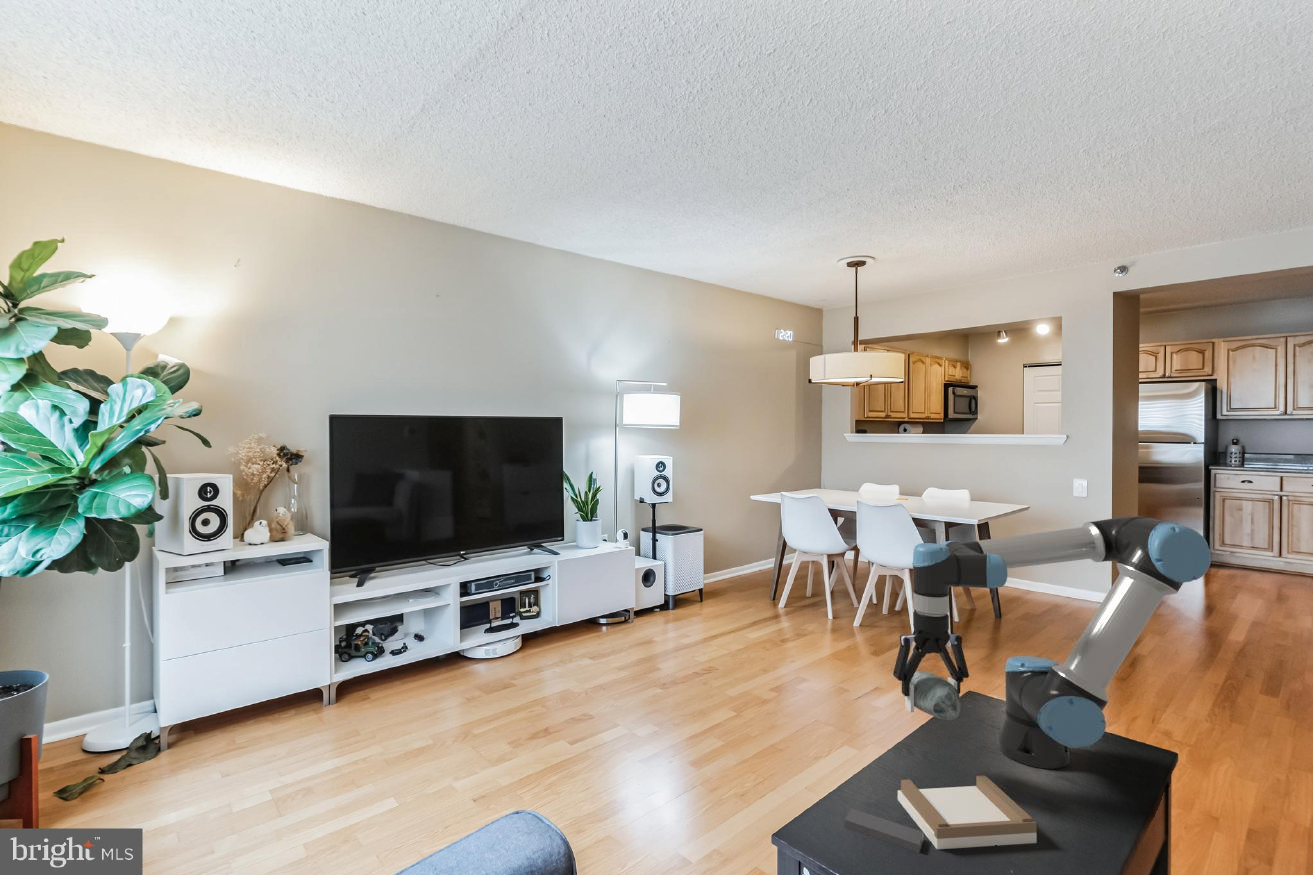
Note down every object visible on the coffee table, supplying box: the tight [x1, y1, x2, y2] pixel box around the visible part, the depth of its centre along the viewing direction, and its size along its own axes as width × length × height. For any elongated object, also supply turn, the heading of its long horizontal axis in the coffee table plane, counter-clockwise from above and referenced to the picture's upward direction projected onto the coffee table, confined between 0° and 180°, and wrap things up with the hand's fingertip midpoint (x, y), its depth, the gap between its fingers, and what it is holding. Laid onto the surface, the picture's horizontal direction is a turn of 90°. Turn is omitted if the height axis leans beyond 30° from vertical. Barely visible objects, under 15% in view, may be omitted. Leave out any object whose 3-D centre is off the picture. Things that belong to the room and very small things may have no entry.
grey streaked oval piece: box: [911, 670, 962, 721], centre depth 144 cm, size 14×10×10 cm
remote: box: [844, 808, 925, 854], centre depth 123 cm, size 4×14×2 cm, turn 57°
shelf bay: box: [897, 775, 1038, 850], centre depth 127 cm, size 20×16×4 cm
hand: (931, 708), depth 144 cm, fingers closed on grey streaked oval piece, 9 cm apart
